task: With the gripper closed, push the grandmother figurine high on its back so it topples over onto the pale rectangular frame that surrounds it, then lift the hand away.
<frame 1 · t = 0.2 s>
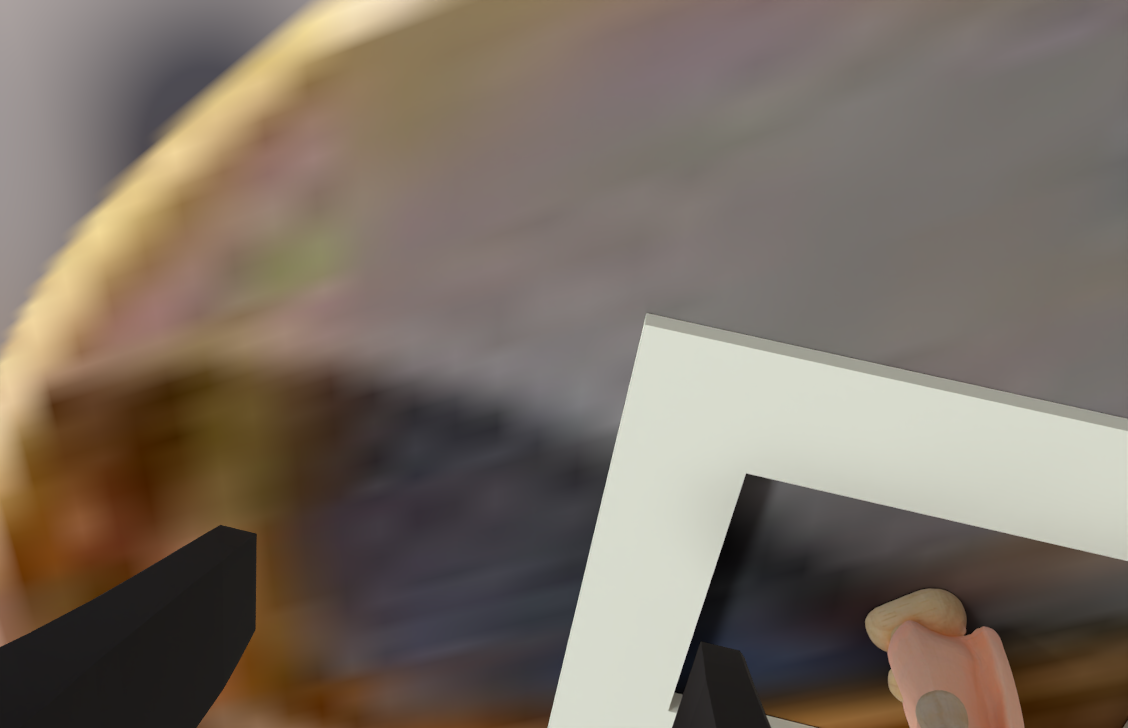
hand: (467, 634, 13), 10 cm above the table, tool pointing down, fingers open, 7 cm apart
grandmother figurine: (920, 630, 24), resting in pale rectangular frame
pale rectangular frame: (922, 636, 24), on the table
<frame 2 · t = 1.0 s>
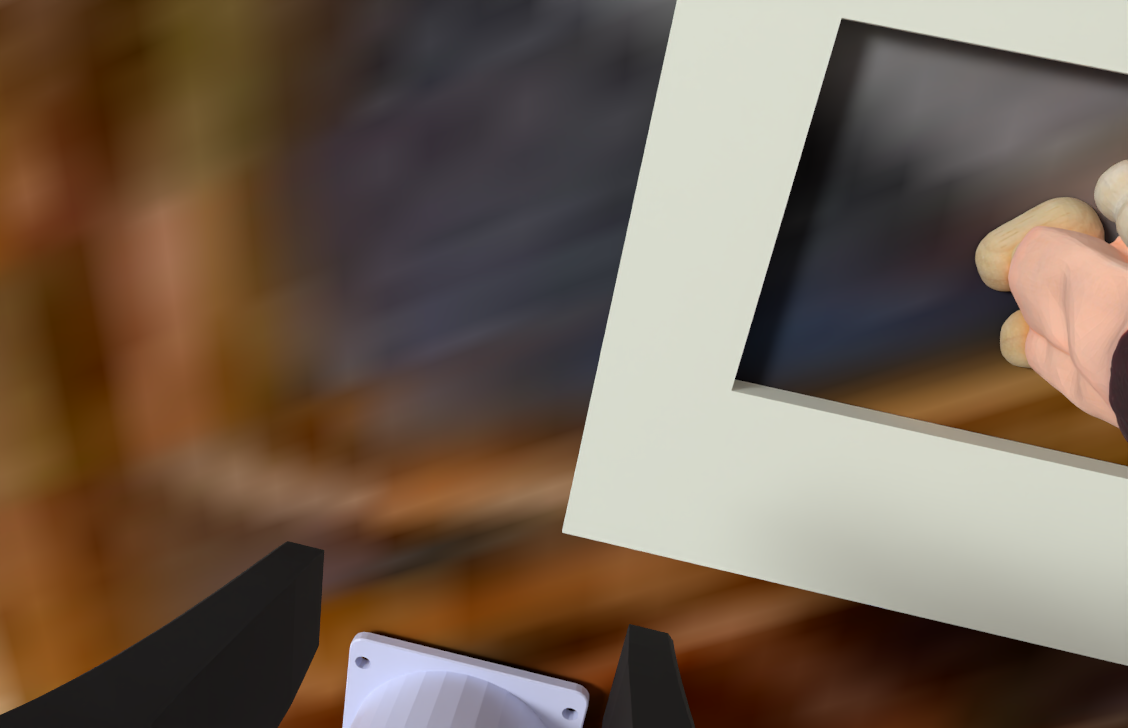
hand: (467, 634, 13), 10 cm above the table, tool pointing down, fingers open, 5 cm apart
grandmother figurine: (1042, 268, 20), resting in pale rectangular frame
pale rectangular frame: (1045, 270, 19), on the table
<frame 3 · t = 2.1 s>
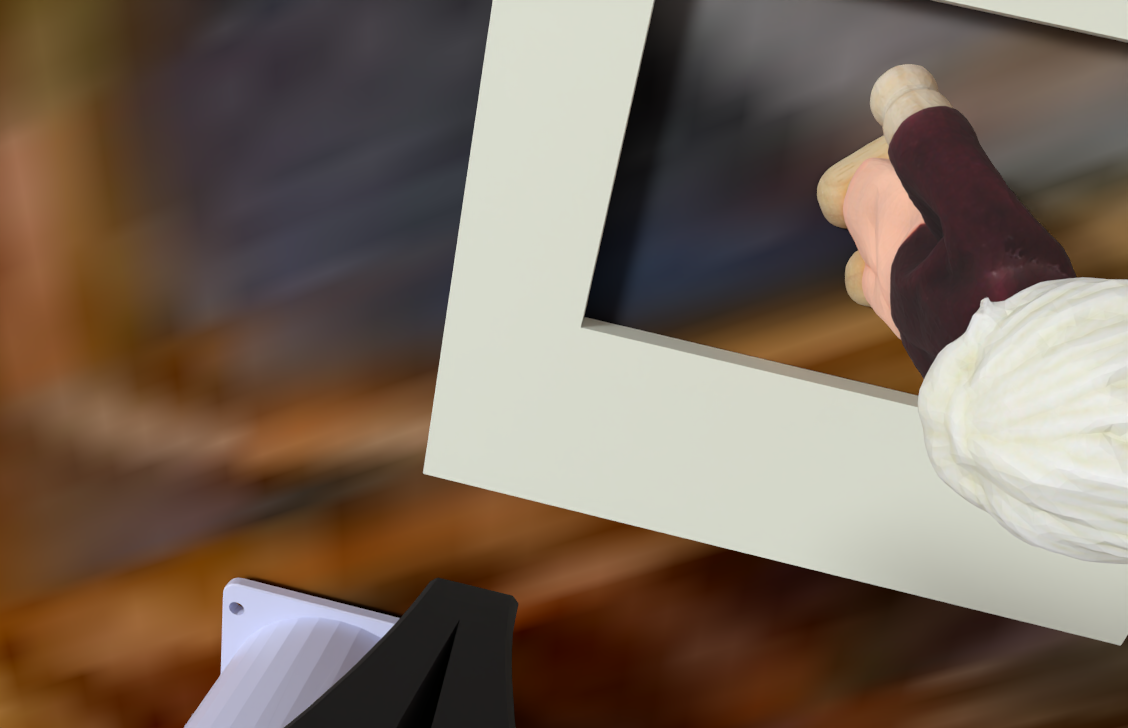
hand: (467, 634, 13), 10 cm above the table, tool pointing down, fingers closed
grandmother figurine: (884, 205, 20), resting in pale rectangular frame
pale rectangular frame: (886, 207, 19), on the table
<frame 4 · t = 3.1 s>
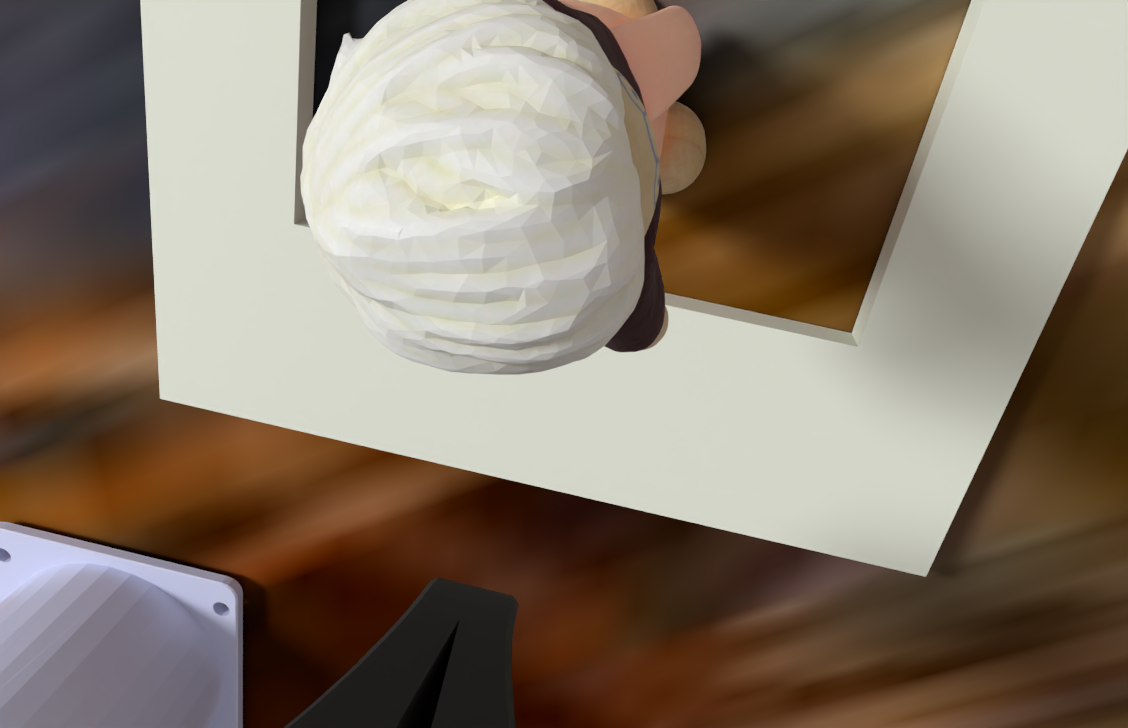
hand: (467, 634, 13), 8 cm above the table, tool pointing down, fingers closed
grandmother figurine: (613, 72, 17), resting in pale rectangular frame
pale rectangular frame: (613, 72, 17), on the table
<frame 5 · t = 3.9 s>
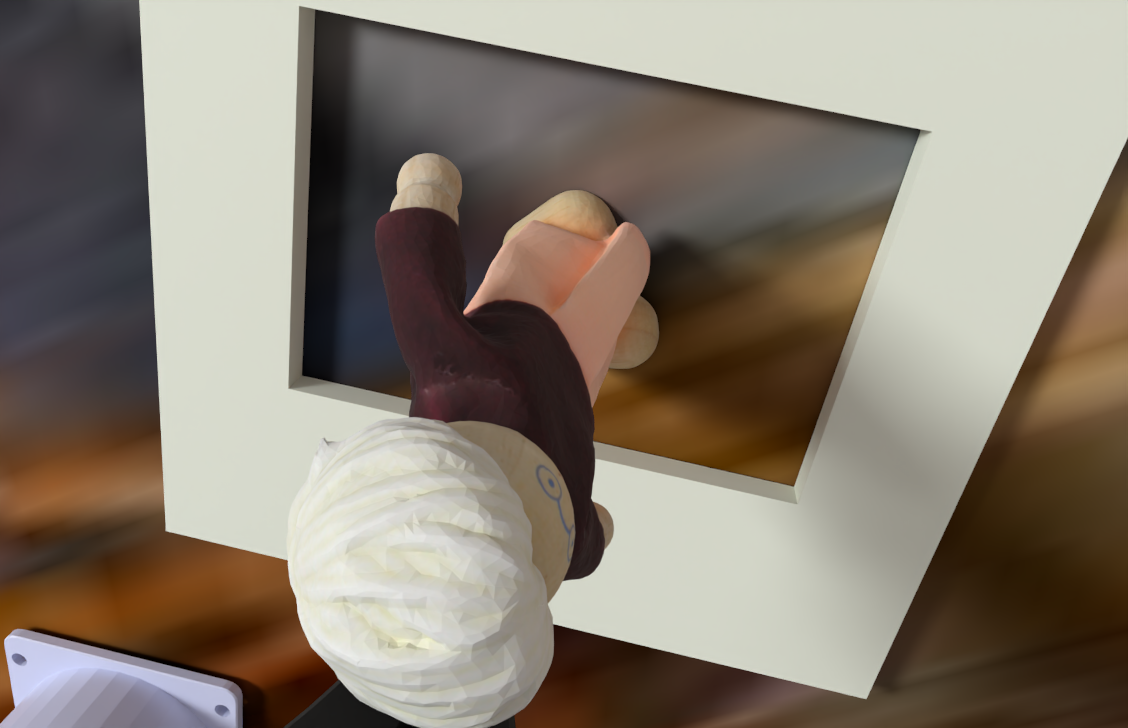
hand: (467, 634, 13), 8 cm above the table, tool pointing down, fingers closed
grandmother figurine: (575, 263, 19), resting in pale rectangular frame, touching gripper
pale rectangular frame: (574, 265, 19), on the table
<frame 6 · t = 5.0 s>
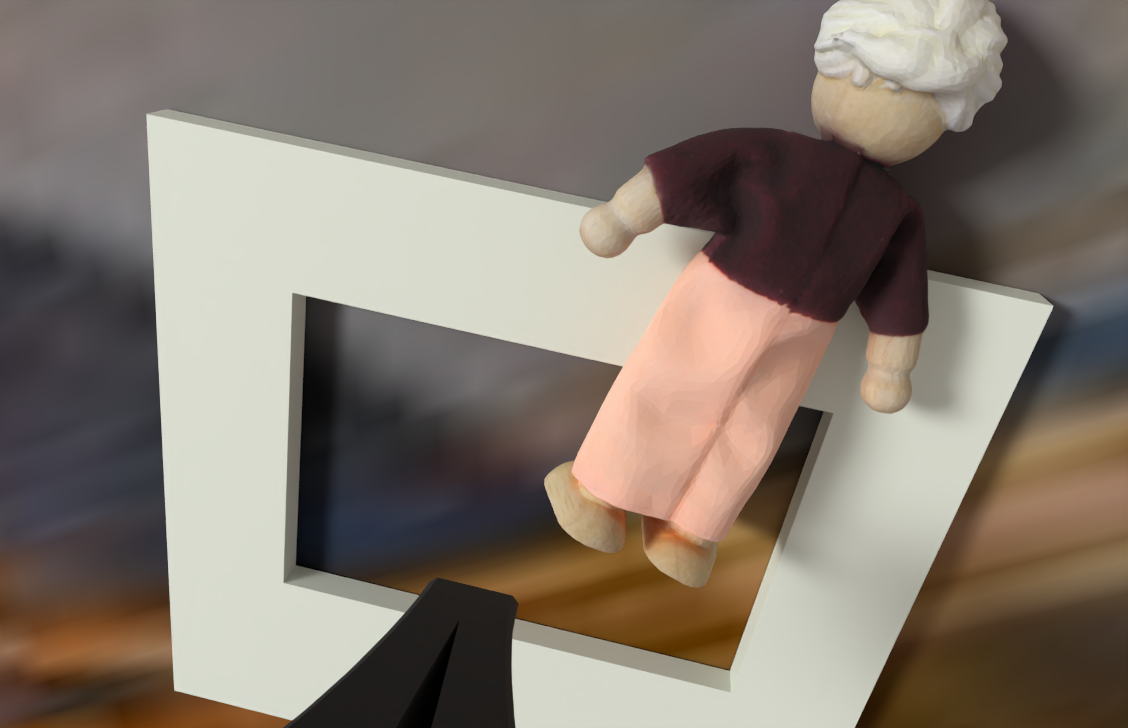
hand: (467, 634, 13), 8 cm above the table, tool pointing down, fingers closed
grandmother figurine: (606, 528, 18), point 3 cm above the table, touching pale rectangular frame
pale rectangular frame: (533, 490, 22), on the table
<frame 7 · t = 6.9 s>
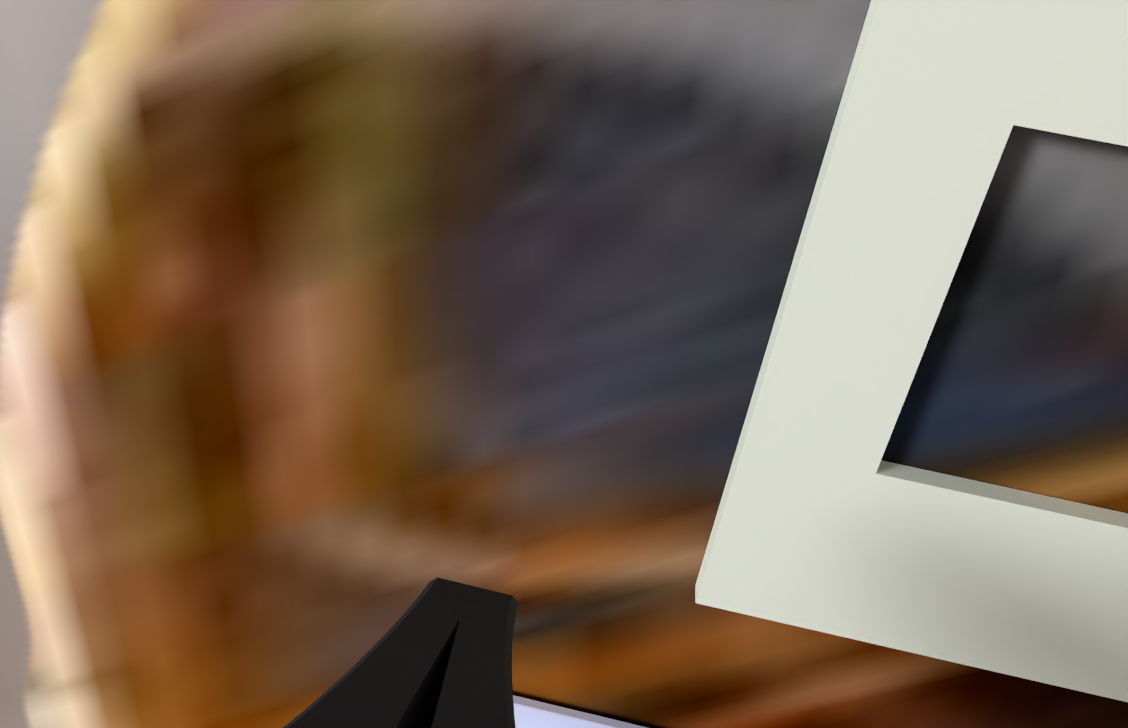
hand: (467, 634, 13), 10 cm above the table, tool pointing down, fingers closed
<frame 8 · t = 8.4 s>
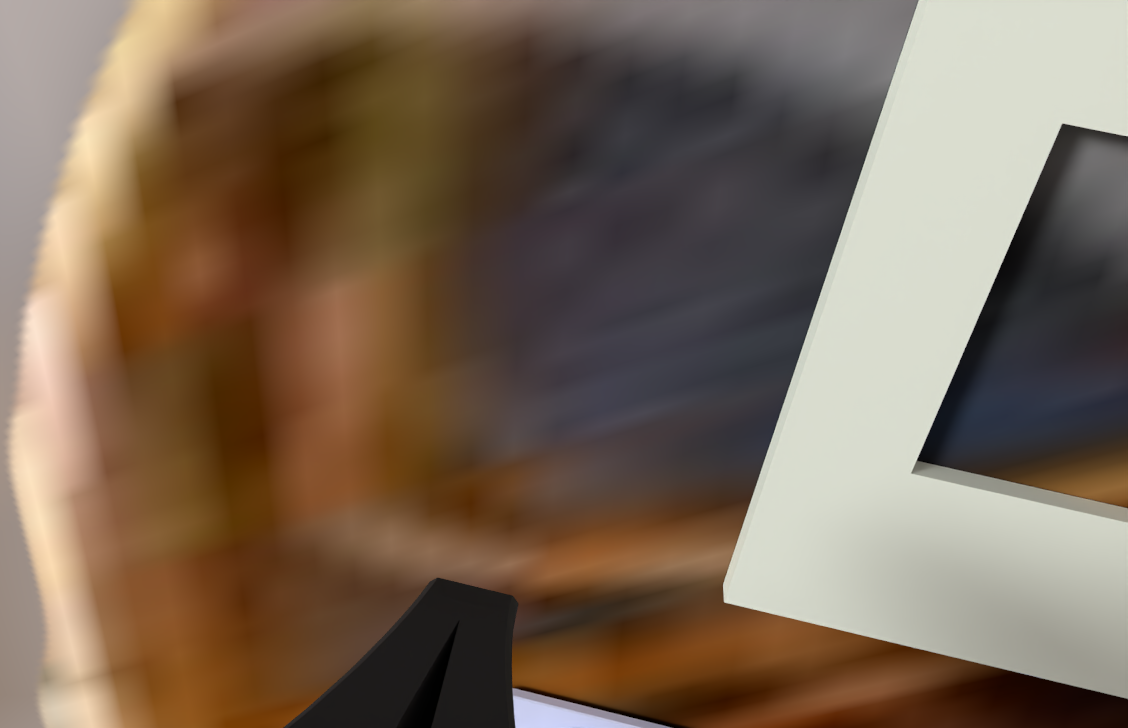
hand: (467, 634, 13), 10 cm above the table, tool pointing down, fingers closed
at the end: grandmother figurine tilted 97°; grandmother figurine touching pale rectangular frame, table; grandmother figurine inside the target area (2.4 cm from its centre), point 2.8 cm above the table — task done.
